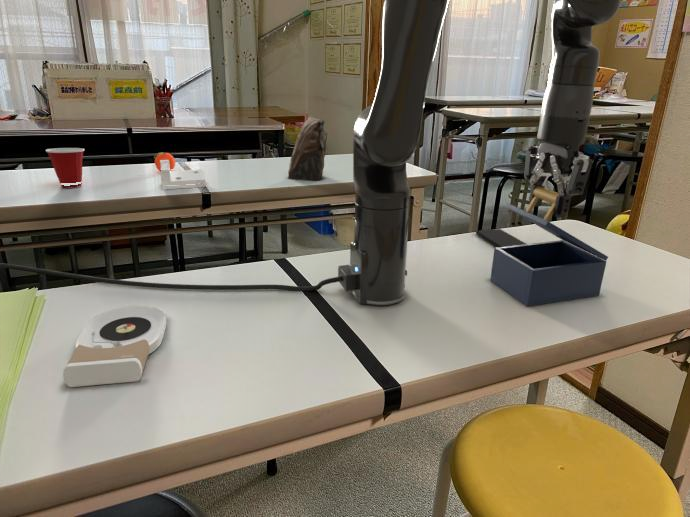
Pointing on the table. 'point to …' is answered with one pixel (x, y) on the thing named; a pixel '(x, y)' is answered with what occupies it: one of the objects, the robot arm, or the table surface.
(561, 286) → the dark blue box
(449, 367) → the table surface
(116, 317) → the record player
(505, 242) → the smartphone
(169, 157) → the tomato
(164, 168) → the bracket
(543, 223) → the box lid
